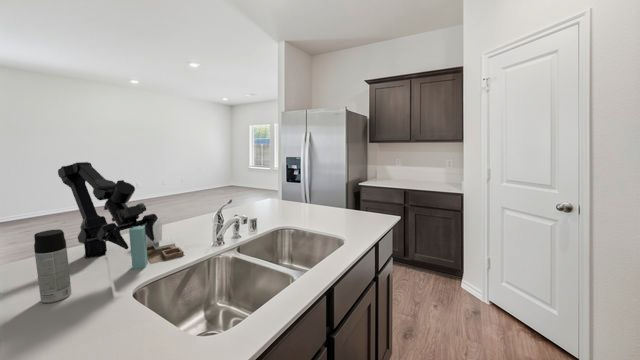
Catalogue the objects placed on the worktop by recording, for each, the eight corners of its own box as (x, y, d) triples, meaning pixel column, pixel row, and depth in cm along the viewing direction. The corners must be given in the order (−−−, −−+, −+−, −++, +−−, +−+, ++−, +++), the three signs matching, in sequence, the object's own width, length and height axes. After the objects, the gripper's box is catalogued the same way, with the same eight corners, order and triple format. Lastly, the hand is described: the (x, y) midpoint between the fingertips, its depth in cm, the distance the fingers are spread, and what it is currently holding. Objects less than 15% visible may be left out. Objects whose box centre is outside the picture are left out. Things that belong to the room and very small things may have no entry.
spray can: (69, 289, 86) (62, 227, 84) (74, 296, 82) (66, 231, 79) (39, 298, 81) (30, 232, 79) (42, 306, 77) (33, 237, 74)
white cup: (148, 247, 122) (146, 225, 120) (140, 243, 126) (139, 222, 125) (166, 242, 128) (165, 221, 127) (159, 238, 133) (157, 218, 131)
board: (150, 266, 102) (149, 260, 102) (142, 252, 116) (141, 246, 115) (185, 258, 110) (184, 252, 110) (173, 245, 124) (173, 240, 123)
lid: (155, 249, 112) (155, 243, 111) (152, 244, 117) (151, 238, 117) (175, 245, 116) (174, 239, 116) (170, 241, 122) (170, 235, 122)
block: (132, 270, 98) (128, 230, 96) (135, 266, 102) (132, 226, 100) (145, 268, 100) (142, 228, 98) (148, 264, 103) (144, 225, 101)
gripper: (98, 202, 91) (121, 239, 87) (153, 193, 107) (174, 224, 104) (87, 222, 95) (109, 258, 92) (141, 210, 112) (161, 241, 109)
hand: (141, 244), depth 99 cm, fingers open, 9 cm apart
